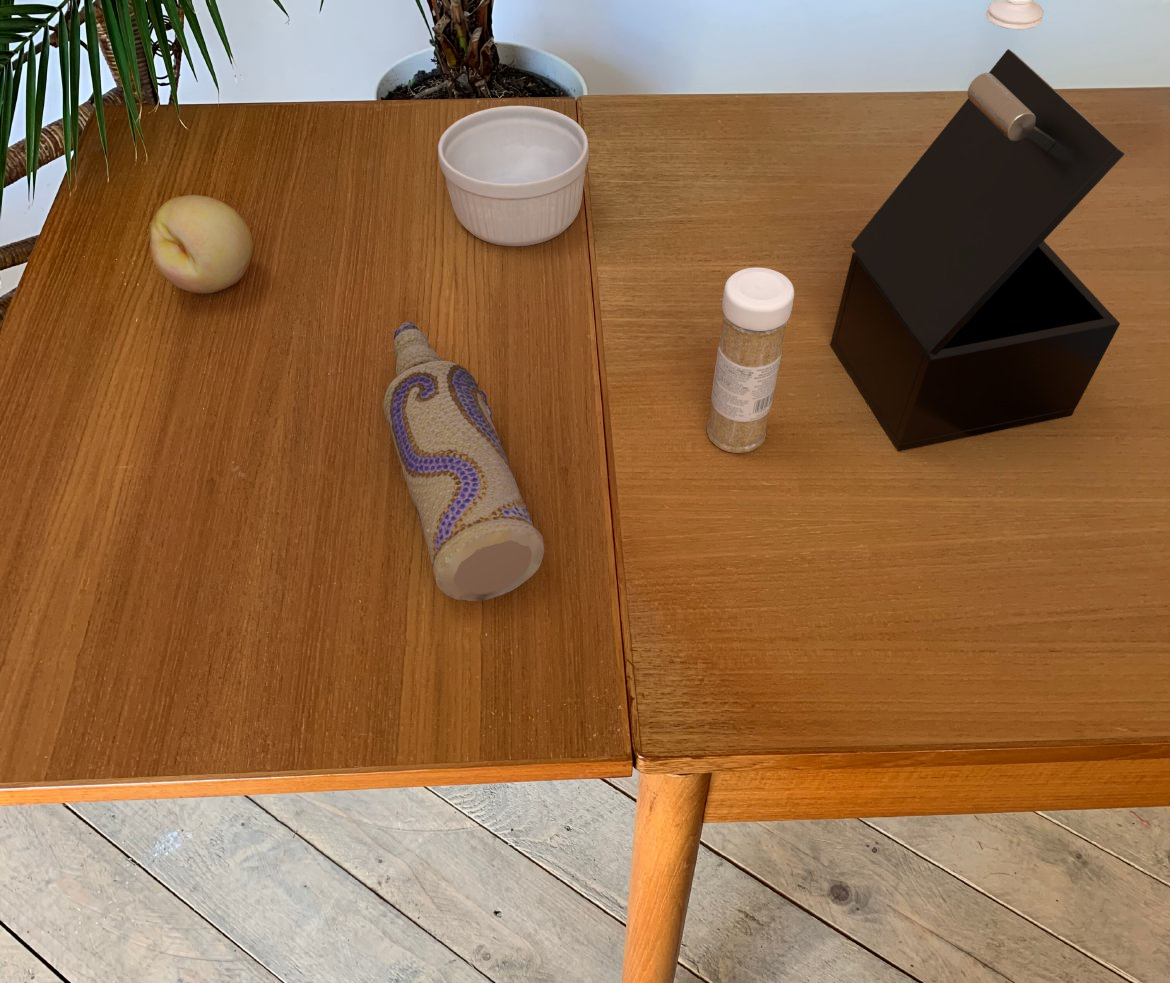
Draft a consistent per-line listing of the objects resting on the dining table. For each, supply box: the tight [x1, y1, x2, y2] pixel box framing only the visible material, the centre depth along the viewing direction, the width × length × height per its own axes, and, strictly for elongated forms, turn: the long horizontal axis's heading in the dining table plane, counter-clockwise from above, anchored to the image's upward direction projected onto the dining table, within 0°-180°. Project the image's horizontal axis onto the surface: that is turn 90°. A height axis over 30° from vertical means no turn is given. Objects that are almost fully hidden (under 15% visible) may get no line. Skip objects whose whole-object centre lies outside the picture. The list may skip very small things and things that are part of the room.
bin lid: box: [850, 48, 1125, 356], centre depth 66 cm, size 16×13×5 cm
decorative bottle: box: [382, 321, 545, 602], centre depth 72 cm, size 26×8×7 cm, turn 18°
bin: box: [829, 240, 1121, 452], centre depth 76 cm, size 15×13×9 cm
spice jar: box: [706, 266, 795, 454], centre depth 71 cm, size 5×5×14 cm
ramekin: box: [437, 105, 590, 247], centre depth 91 cm, size 13×13×7 cm
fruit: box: [149, 194, 254, 294], centre depth 84 cm, size 8×8×8 cm
